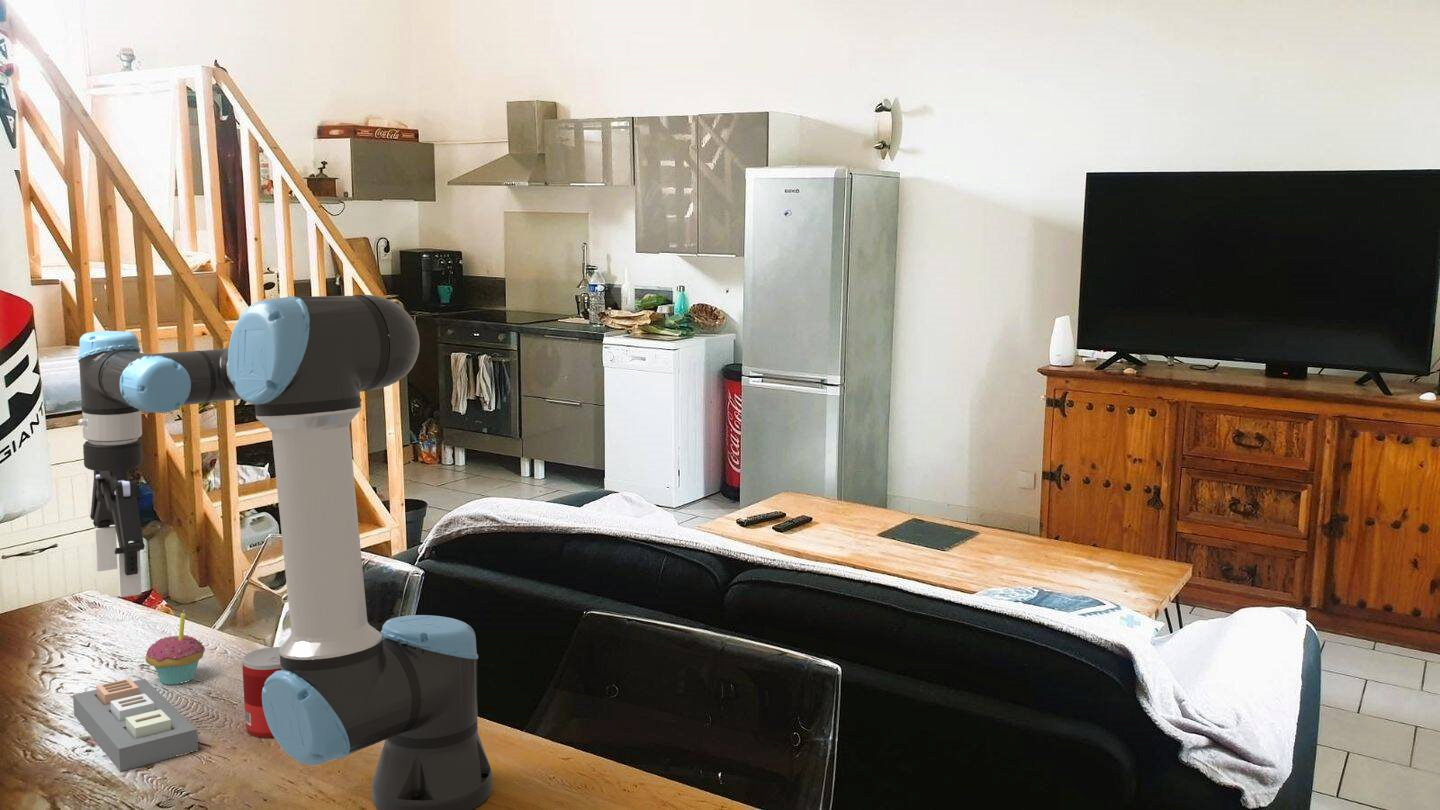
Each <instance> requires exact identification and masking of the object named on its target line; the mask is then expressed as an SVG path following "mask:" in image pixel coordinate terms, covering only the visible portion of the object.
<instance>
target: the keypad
mask: <svg viewBox="0 0 1440 810" xmlns="http://www.w3.org/2000/svg"><path fill="white" fill-rule="evenodd" d="M132 681H133V680H132ZM133 682H134V683H135V684H136V685H137V686H138V687H139V695H140V694H144V693H145V694H146V695H147V696H148V697H149V698H150V699H151V700H152V701H153V702H154V706H155V710H160V709H161V710H162V711H163V712H164V713H165V714H166V715H167V716H168V717H169V718H170V719H171V729H172V730H170V731H166V732H162V733H158V734H154V735H150V736H146V737H142V738H138V739H133V738H132V736H131V735H130V734H129V733H128V732H127V731H126V720H124V721H120V722H118V721H117V720H116V719H115V718H114V716H113V715H112V714H111V704H108V705H103V704H102V703H101V702H100V701H99V700H98V699H97V690H96V689H92V690H88V691H84V692H78V693H76V694H75V693H74V694H72V701H73V703H72V704H73V716H74V718H76V720H77V721H78V722H79V723H80V724H81V725H82V727H83V728H84V729H85V730H86V732H87V733H88V734H89V736H91V738H92V739H93V740H94V742H95V743H96V744H97V745H98V746H99V747H100V749H101V750H102V751H103V752H104V753H105V755H106V756H107V757H108V759H109V760H110V761H111V762H112V763H113V765H114V766H115V768H116V769H117V770H118V771H119V772H120V773H121V772H124V771H127V770H131V769H136V768H140V767H143V766H147V765H150V764H154V763H158V762H161V761H166V760H169V759H168V758H170V757H173V758H175V757H174V756H176V755H180V754H185V753H188V752H191V751H196V750H198V751H199V743H198V741H199V739H198V729H197V728H196V727H195V725H194V724H192V723H191V722H190V721H189V720H188V719H187V718H186V717H185V716H184V715H183V714H182V713H181V711H179V710H178V708H176V707H175V706H174V705H173V704H172V703H171V702H169V700H167V699H166V698H165V697H164V695H162V694H161V693H160V691H158V689H156V688H155V687H154V686H153V685H152V684H151V682H149V681H148V680H147V679H146V678H142V679H138V680H134V681H133ZM196 752H197V751H196ZM188 754H189V753H188ZM185 755H186V754H185ZM165 759H166V760H165ZM170 759H171V758H170Z"/></svg>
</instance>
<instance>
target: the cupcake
mask: <svg viewBox="0 0 1440 810" xmlns="http://www.w3.org/2000/svg"><path fill="white" fill-rule="evenodd" d="M185 610H186V609H185V608H184V609H183V611H182V613H180V619H179V620H180V622H179V631H178V635H174V636H173V635H172V636H167V637H166V636H165V637H163V638H159V639H158V640H156V641H155V642H154V643H152V644H151V645H150V647H148V648H147V651H146V654H145V659H144V660H145V662H146V664H148V665H149V666H153V667H154V669H155V670H156V672H157V675H158V677H159V680H160V682H161V683H162V684H163V683H164V685H166V684H177V683H181V682H185V681H188V680H191V679H192V678H193V677H194V678H195V673H196V670H197V666H198V664H199V662H200V660H202V659H203V657H204V652H205V651H206V648H205V646H204V645H203V644H202V642H201V641H200V640H198V639H196V638H195V637H193V636H190V635H186V634H184V632H185V621H186V611H185ZM194 678H193V679H194ZM193 679H192V680H193ZM192 680H191V681H192Z"/></svg>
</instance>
